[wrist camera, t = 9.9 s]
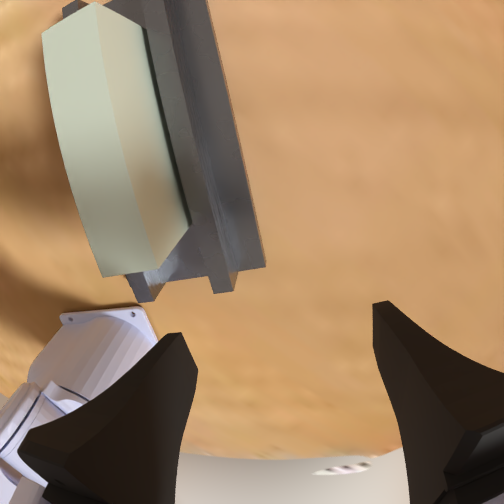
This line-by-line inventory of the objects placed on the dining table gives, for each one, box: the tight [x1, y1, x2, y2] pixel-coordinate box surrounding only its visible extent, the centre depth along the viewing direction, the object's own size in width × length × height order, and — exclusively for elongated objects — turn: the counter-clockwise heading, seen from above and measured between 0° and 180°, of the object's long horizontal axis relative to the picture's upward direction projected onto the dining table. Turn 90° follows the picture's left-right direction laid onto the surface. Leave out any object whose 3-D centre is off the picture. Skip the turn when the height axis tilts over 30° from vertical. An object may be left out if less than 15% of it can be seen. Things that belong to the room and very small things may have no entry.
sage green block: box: [42, 2, 193, 278], centre depth 14 cm, size 12×4×7 cm, turn 12°
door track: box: [62, 0, 266, 303], centre depth 16 cm, size 20×10×3 cm, turn 12°
